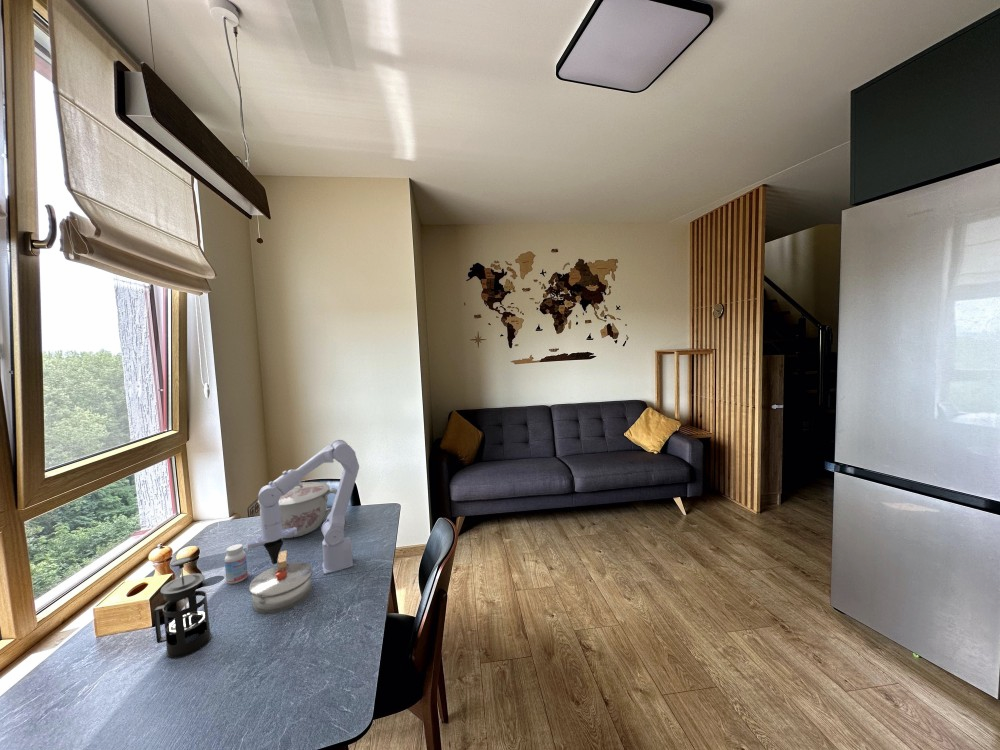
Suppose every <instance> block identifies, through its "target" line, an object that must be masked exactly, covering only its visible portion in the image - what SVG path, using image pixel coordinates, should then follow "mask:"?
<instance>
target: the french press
mask: <svg viewBox="0 0 1000 750" xmlns="http://www.w3.org/2000/svg"><path fill="white" fill-rule="evenodd" d="M191 560H192V557H187V556H186V557H182V558H178V559H175V560H173V561H172V562H171V563H170V567H178V569H180V574H181V576H180V577H176V578H175V579H171V581H169V582H167V583H165V584H164V585H163V586H162V587H161V589H160V593H161V595H163V599H164V601H167V602H166V603H165V604H162V605H159V606H156V607H155V609H154V610H153V618H154V619H153V620H154V627H155V628H154V629H155V638H156V643H157V644H160V643H165V642H166V643H165V644H166V652H165V653H166V657H167V658H169V659H180V658H184V657H188V656H191V655H192V654H194V653H196V652H198V651H200V650H202V649H203V648H204V647H205V646H206V645H208V643H210V641H211V640H212V632H211V625H210V618H209V616H210V615H209V607H208V600H207V599H208V598H207V596H208V595H207V592H206V591H204V590H197V589H198V587H199V586H200V585H201V583H203V582H204V581H205V575H204V573H197V572H196V573H189V574H186V575H184V571H183V570H184V569H183V568H184V565H187V564H188V563H189V562H191ZM198 596H200V597H201V596H202V597H203V598H202V599H201V600H200V601H198V602H197V597H198ZM187 599H188V600H187ZM181 600H183V601H184V602H183V603H184V609H180V610H176V611H168V609H169V608H170V607H171V606H172V605H174V604H175V603H177V602H180V601H181ZM186 600H187V601H188V606H187V601H186ZM202 606H203V609H204V610H198V609H199V608H202ZM159 611H162V615H163V621H164V631H165V636H163V637H162V632H161V622H160V614H159V613H160V612H159ZM169 618H170V619H171V618H174V620H172V621H171V622H170V621H169ZM169 622H170V623H169ZM195 635H196V636H197V635H198V636H197V637H195V638H194V639H191V640H188V641H186V638H189V637H192V636H195Z"/></svg>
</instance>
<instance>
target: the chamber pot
mask: <svg viewBox="0 0 1000 750" xmlns="http://www.w3.org/2000/svg"><path fill="white" fill-rule="evenodd" d="M337 489H338V488H334V487H330V485H328V484H327V483H326V482H319V481H318V482H317V481H309V482H307V481H306V482H301V483H300V484H298V485H297V486H296V487H294V488H293V489H292V490H290V491H289V492H288V493H286V494H285V495H283V496H281V497H280V499H279V506H280V513H281V525H282V530H285V529H290V528H293V527H295V528H297V534H296V535H291V536H288V537H285V538H284V539H291V538H292V539H294V538H298V537H302V536H305V535H308V534H309V533H312V532H314V531H315V530H316V529H318V528H319V526H320V525H321V524H322V522H324V520H325V519H327V517H328V515H329V513H330V512H331V509H332V506H331V507H330V508H328V500H329V497H328V495H330V494H334V495H336V493H337ZM257 503H258V504H259V505H260V503H259V499H258V500H257ZM293 537H294V538H293Z"/></svg>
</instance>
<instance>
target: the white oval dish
mask: <svg viewBox="0 0 1000 750" xmlns="http://www.w3.org/2000/svg"><path fill="white" fill-rule="evenodd" d="M312 589H313V588H312V576H311V577H310V578H309V580H308V581H307V582H305V583H304V584H303V585H301V586H300V587H298V588H296V589H294V590H292V591H290V592H287V593H285V594H282V595H278V596H273V597H256V596H253V595H252V594H251V599H252V609H253V611H255V612H256V613H258V614H261V615H266V614H267V615H268V614H269V615H271V614H277V613H281V612H284V611H287V610H289V609H292V608H294V607H296V606H297V605H299V604H301V603H302V602H303V601H305V600H306V599H308V597H309V596H310V595H311V593H312Z"/></svg>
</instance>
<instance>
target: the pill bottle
mask: <svg viewBox="0 0 1000 750" xmlns="http://www.w3.org/2000/svg"><path fill="white" fill-rule="evenodd" d="M243 549H244V546H243V544H241V543H236V544H233V545H231V546H228V547H227V548H226V549H225V552H226V553H225V554H226V556H225V557H224V569H225V570H224V571H225V581H226V583H227V584H232V585H233V584H238V583H240V582H243V581H244V580H246V579H247V578H248V575H249V574H248V571H249V570H248V562H247V553H246V552H245V551H244V550H243Z"/></svg>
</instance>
